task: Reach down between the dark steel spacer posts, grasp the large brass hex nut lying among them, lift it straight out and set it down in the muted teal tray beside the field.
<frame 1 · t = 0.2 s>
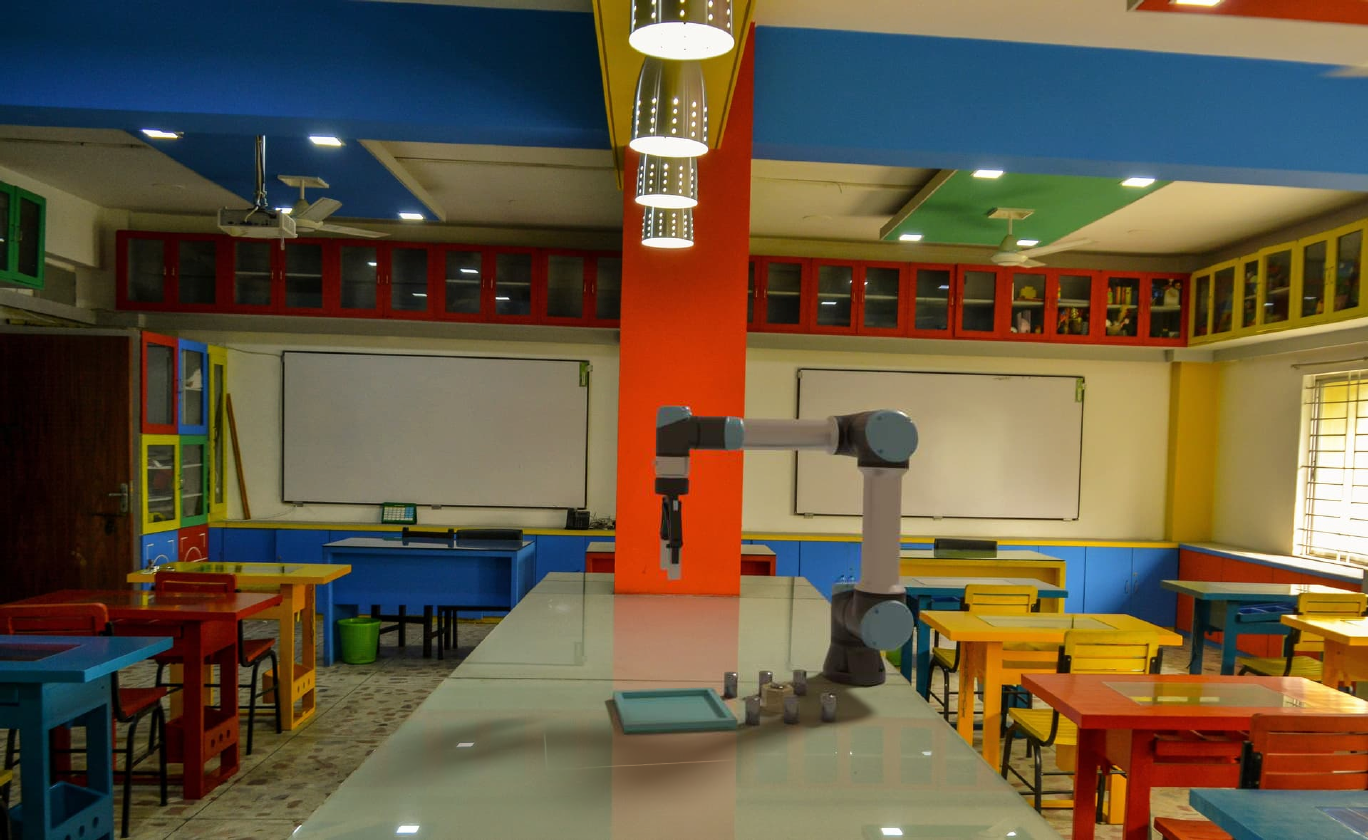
hand: (670, 574, 182), 27 cm above the table, fingers open, 13 cm apart
tray: (671, 713, 172), on the table
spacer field: (777, 707, 178), on the table
nut: (777, 708, 178), on the table
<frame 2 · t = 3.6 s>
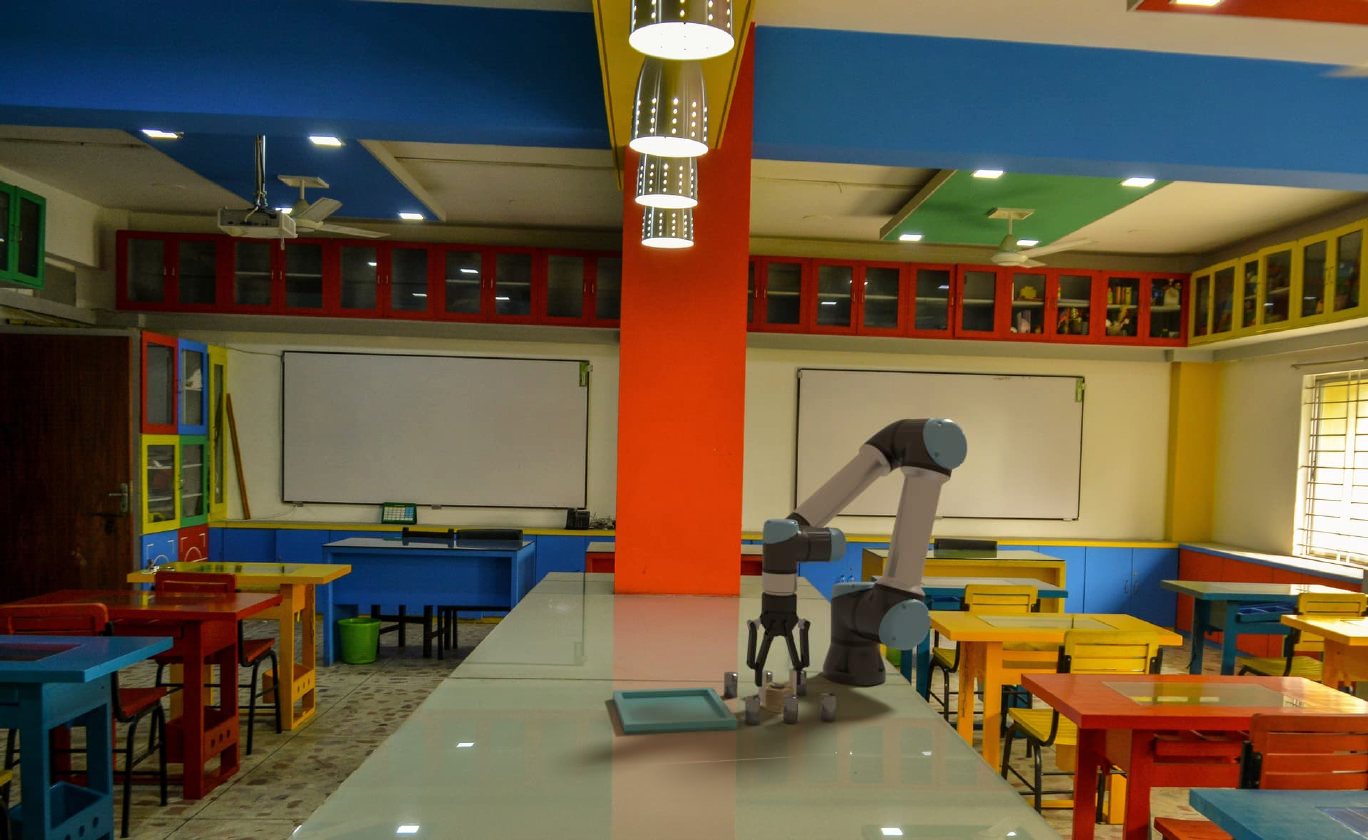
hand: (777, 700, 178), 1 cm above the table, fingers closed on nut, 6 cm apart
nut: (777, 707, 178), on the table, touching gripper
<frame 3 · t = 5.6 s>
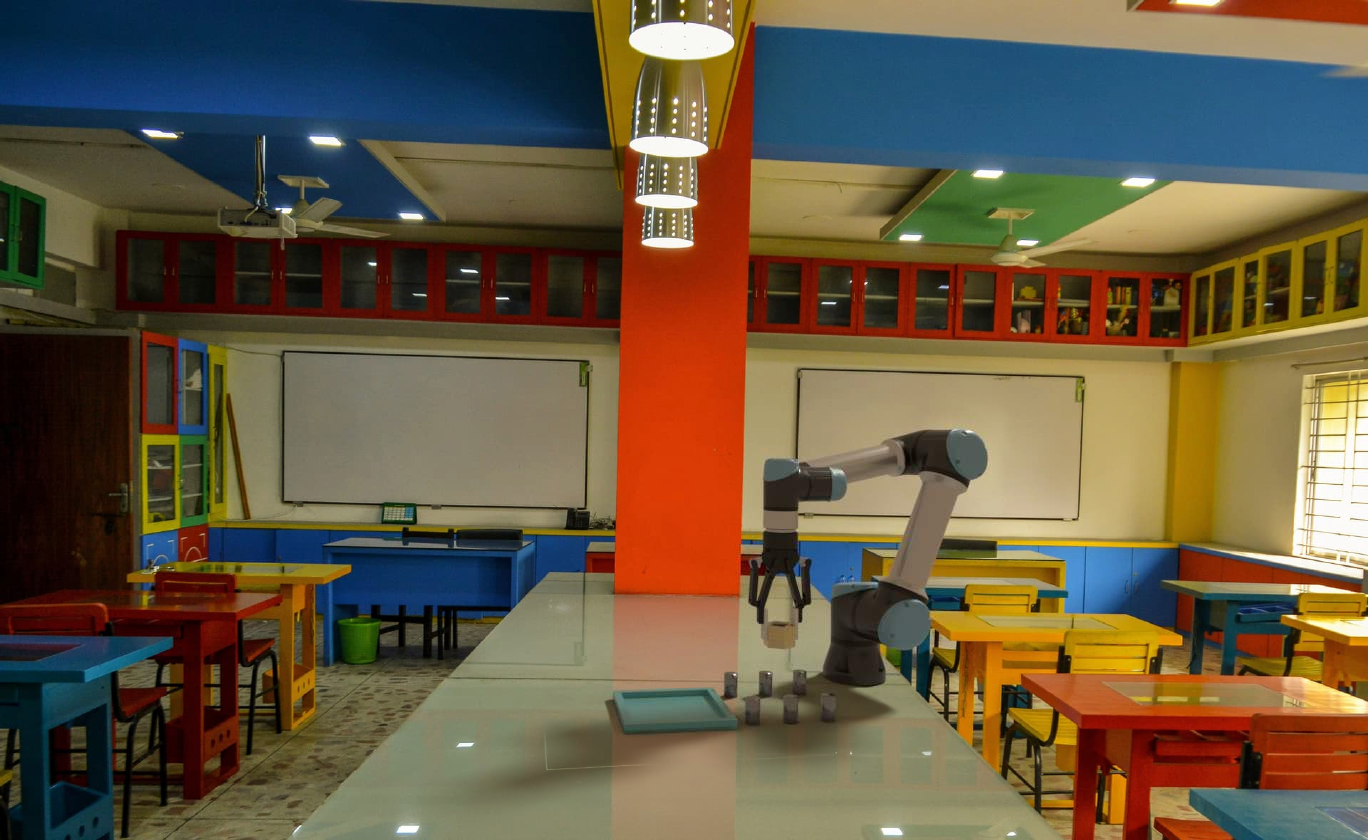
hand: (779, 638, 178), 15 cm above the table, fingers closed on nut, 6 cm apart
nut: (779, 645, 178), point 13 cm above the table, touching gripper
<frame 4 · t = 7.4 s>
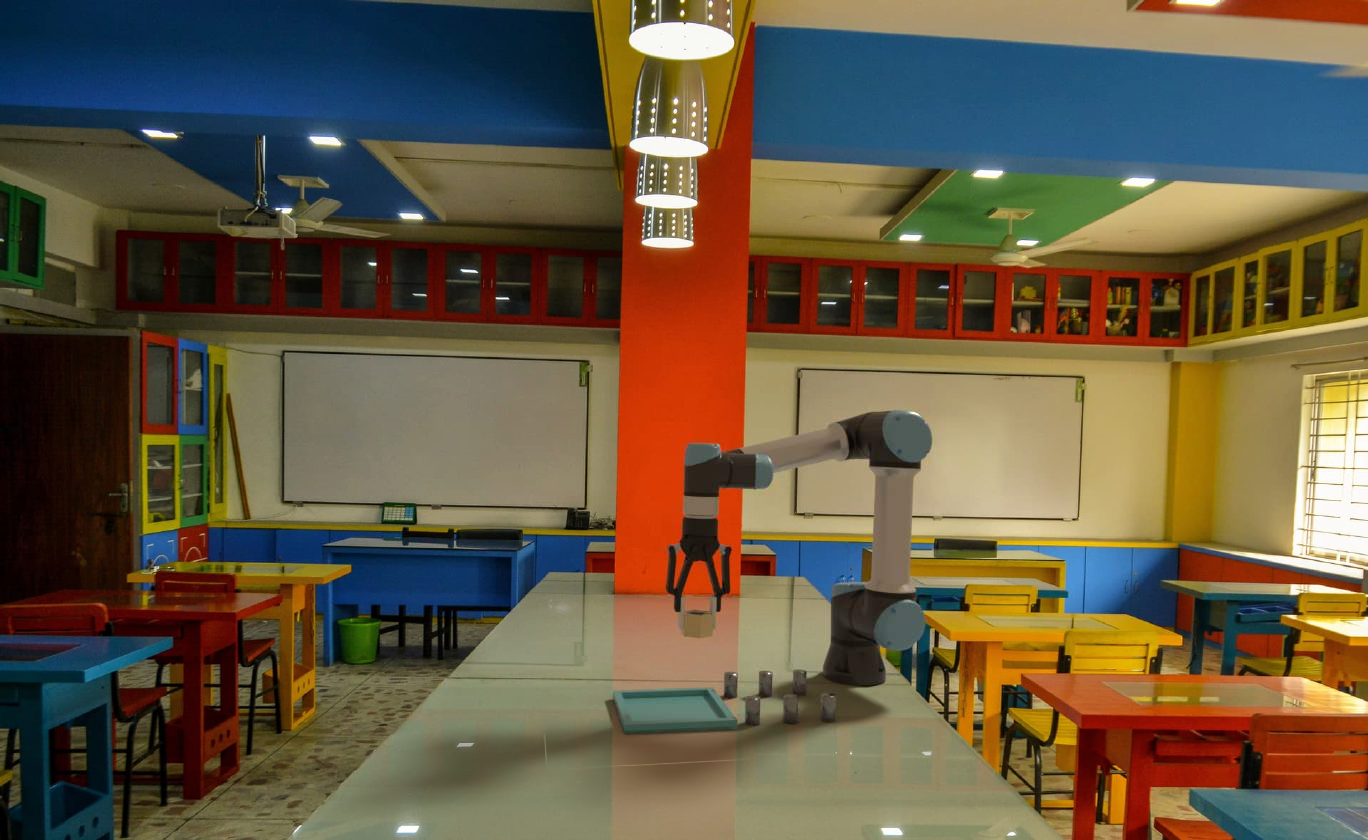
hand: (696, 627, 174), 18 cm above the table, fingers closed on nut, 6 cm apart
nut: (696, 634, 174), point 16 cm above the table, touching gripper
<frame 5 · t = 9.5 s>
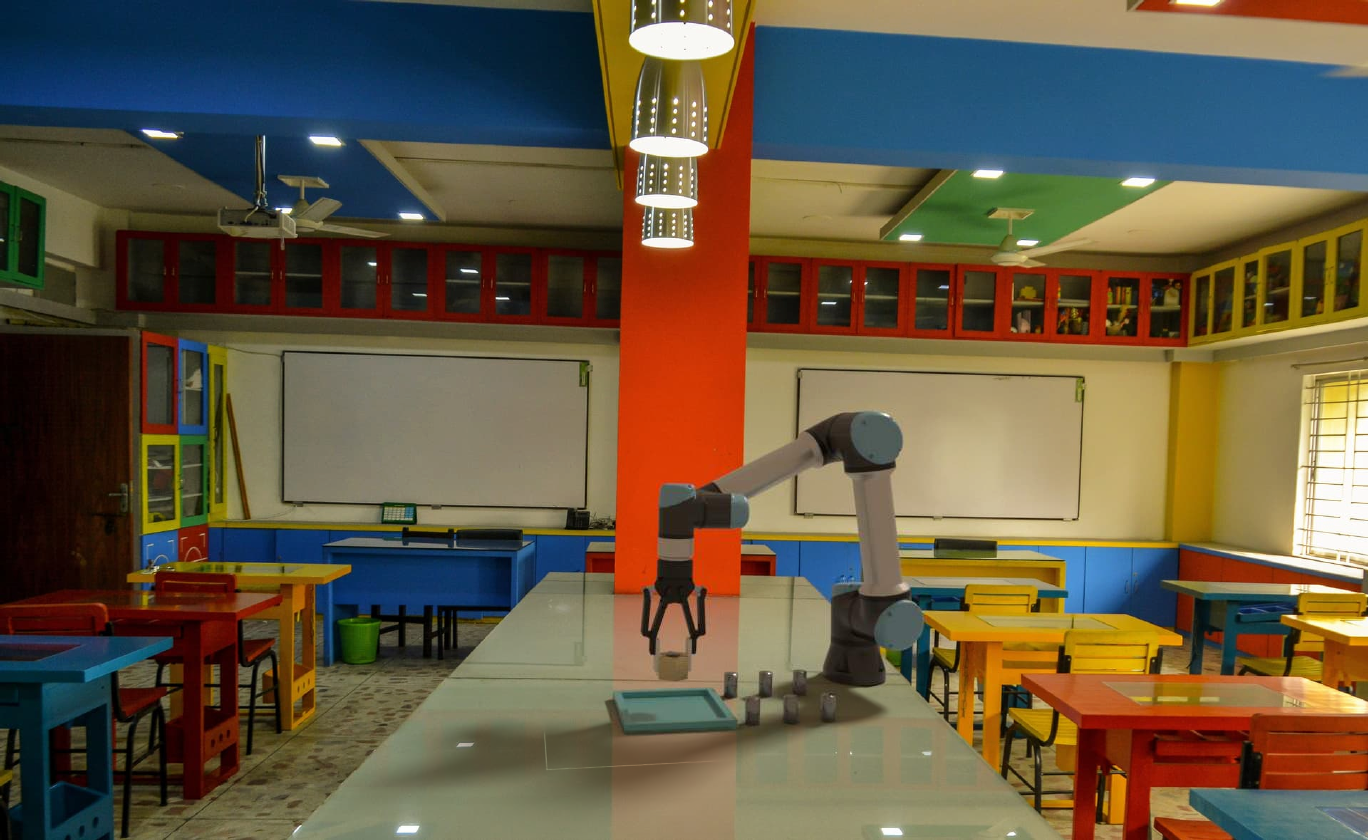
hand: (672, 669, 173), 9 cm above the table, fingers closed on nut, 6 cm apart
nut: (671, 676, 173), point 7 cm above the table, touching gripper
when the fingers open (3 cm above the table, at t = 11.3 s): nut drops 1 cm, resting on tray.
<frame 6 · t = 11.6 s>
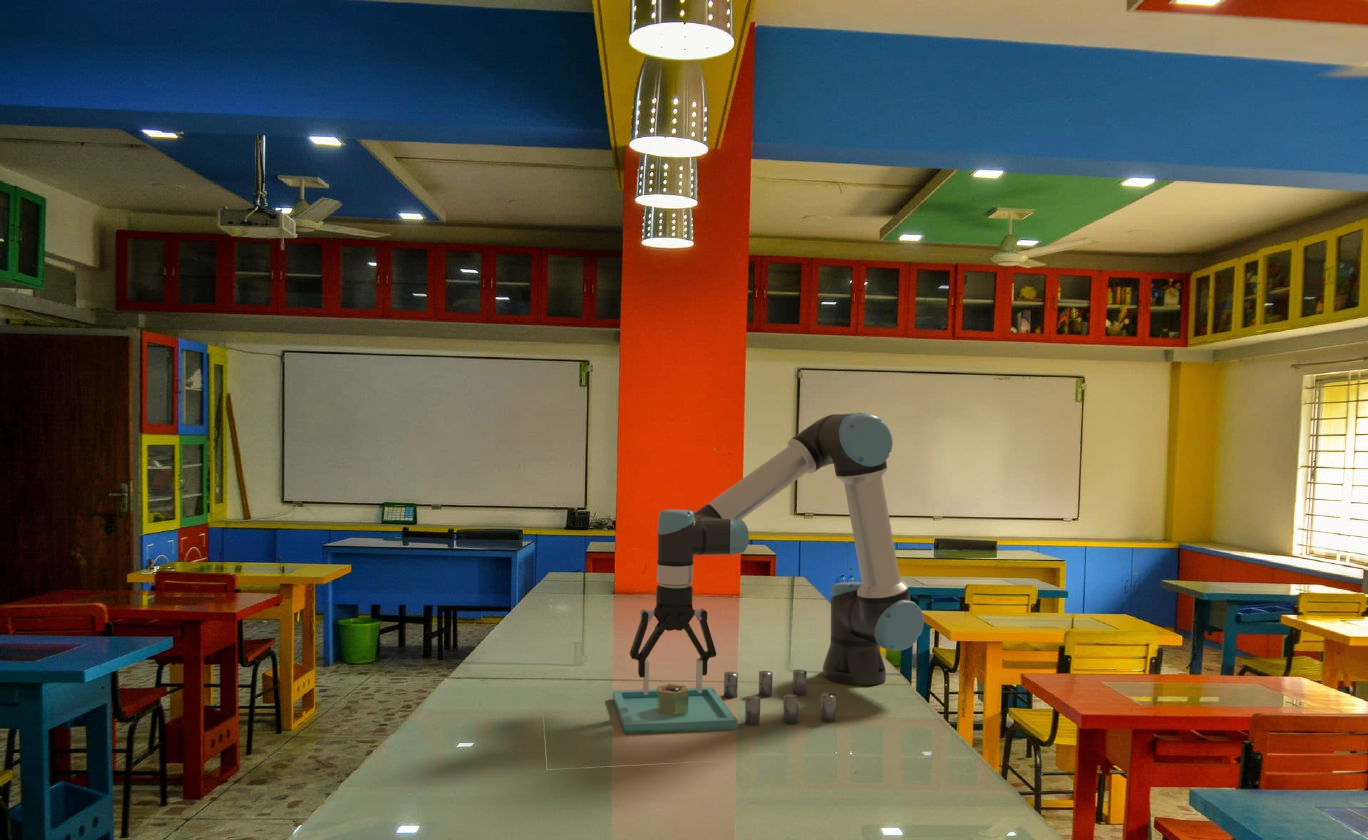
hand: (672, 691, 173), 4 cm above the table, fingers open, 10 cm apart
nut: (672, 710, 172), point 1 cm above the table, touching tray
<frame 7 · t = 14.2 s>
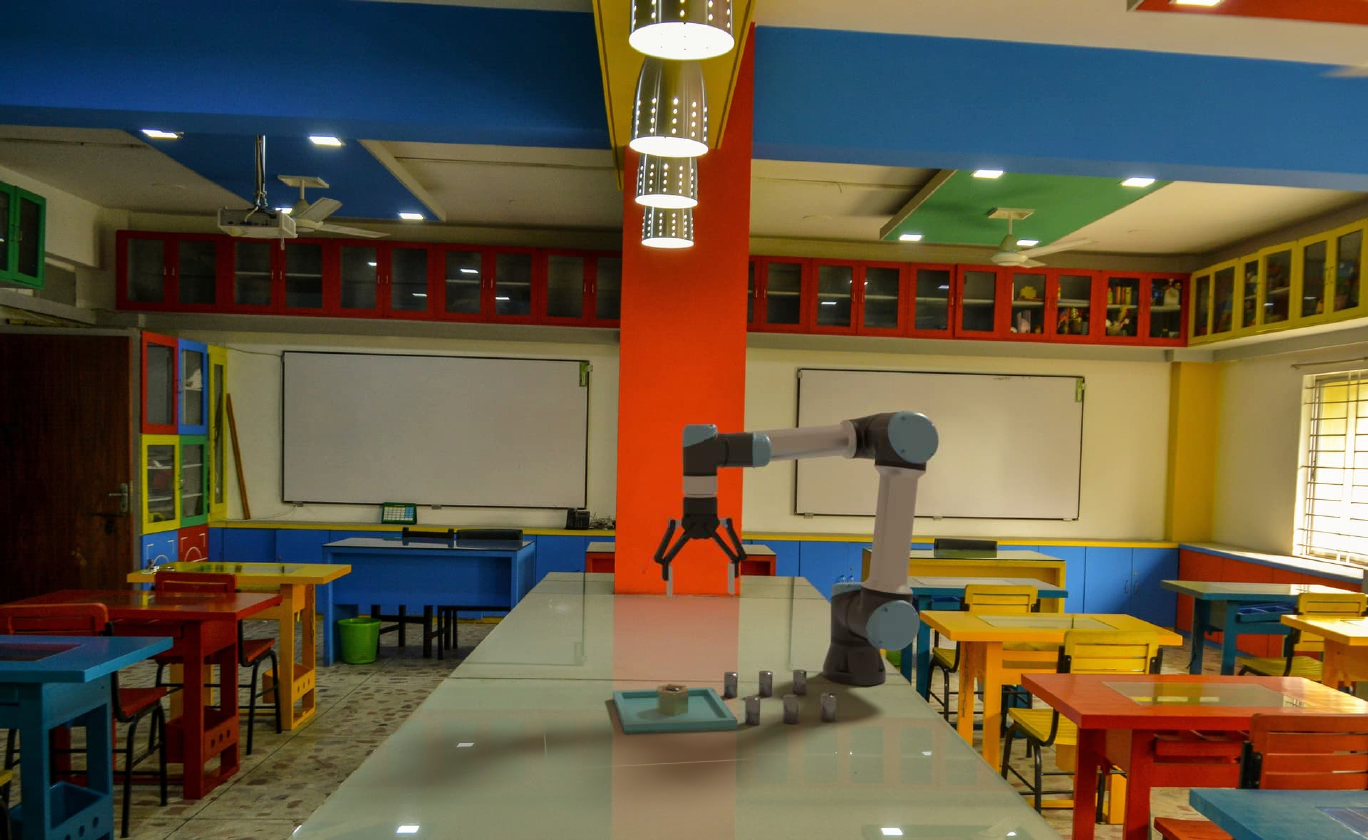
hand: (700, 594, 179), 23 cm above the table, fingers open, 13 cm apart
nothing on the table moved.
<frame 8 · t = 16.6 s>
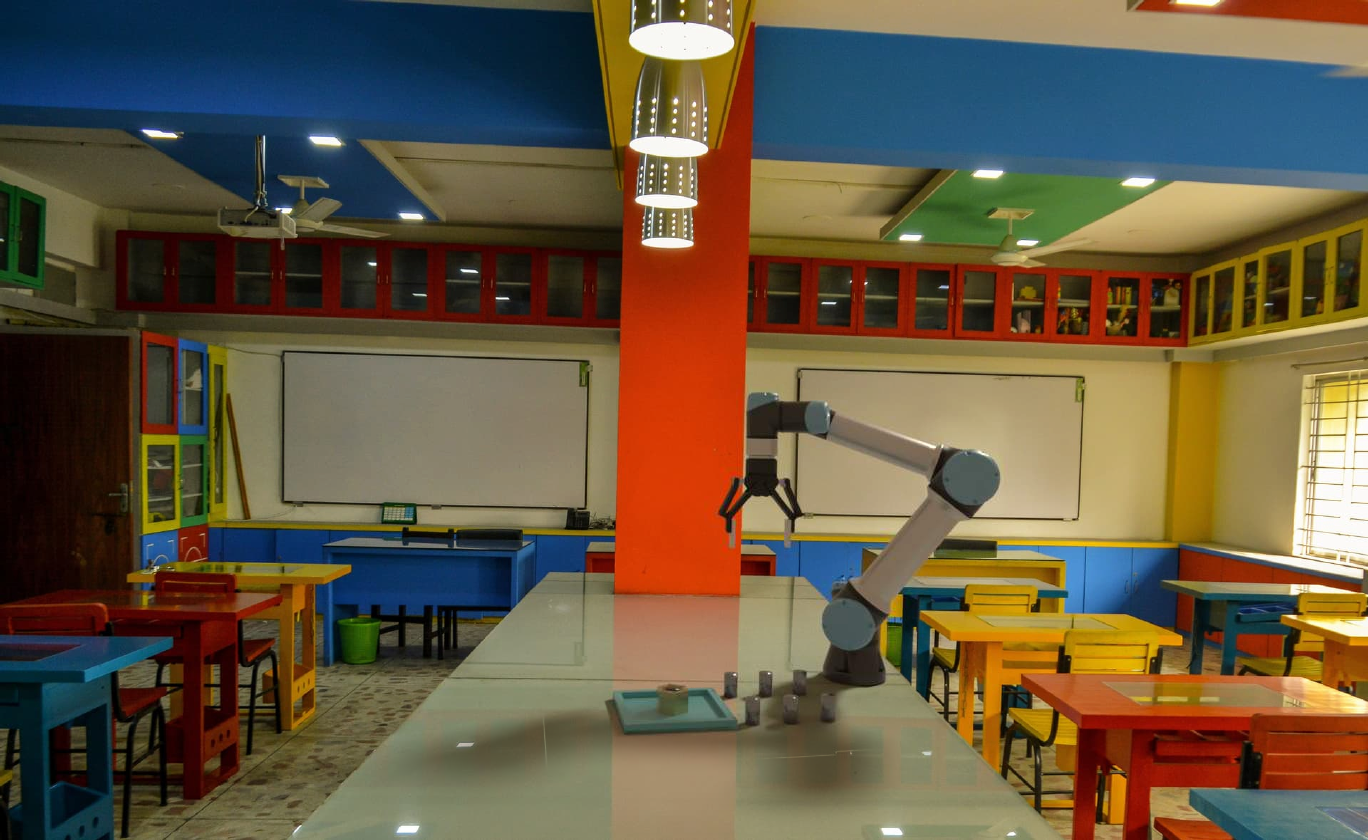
hand: (759, 547, 197), 32 cm above the table, fingers open, 13 cm apart
nothing on the table moved.
at the end: nut inside the target area on the tray (0.1 cm from its centre), point 0.6 cm above the tray's base; the gripper is holding nothing; nut moved 23.0 cm from its start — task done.
